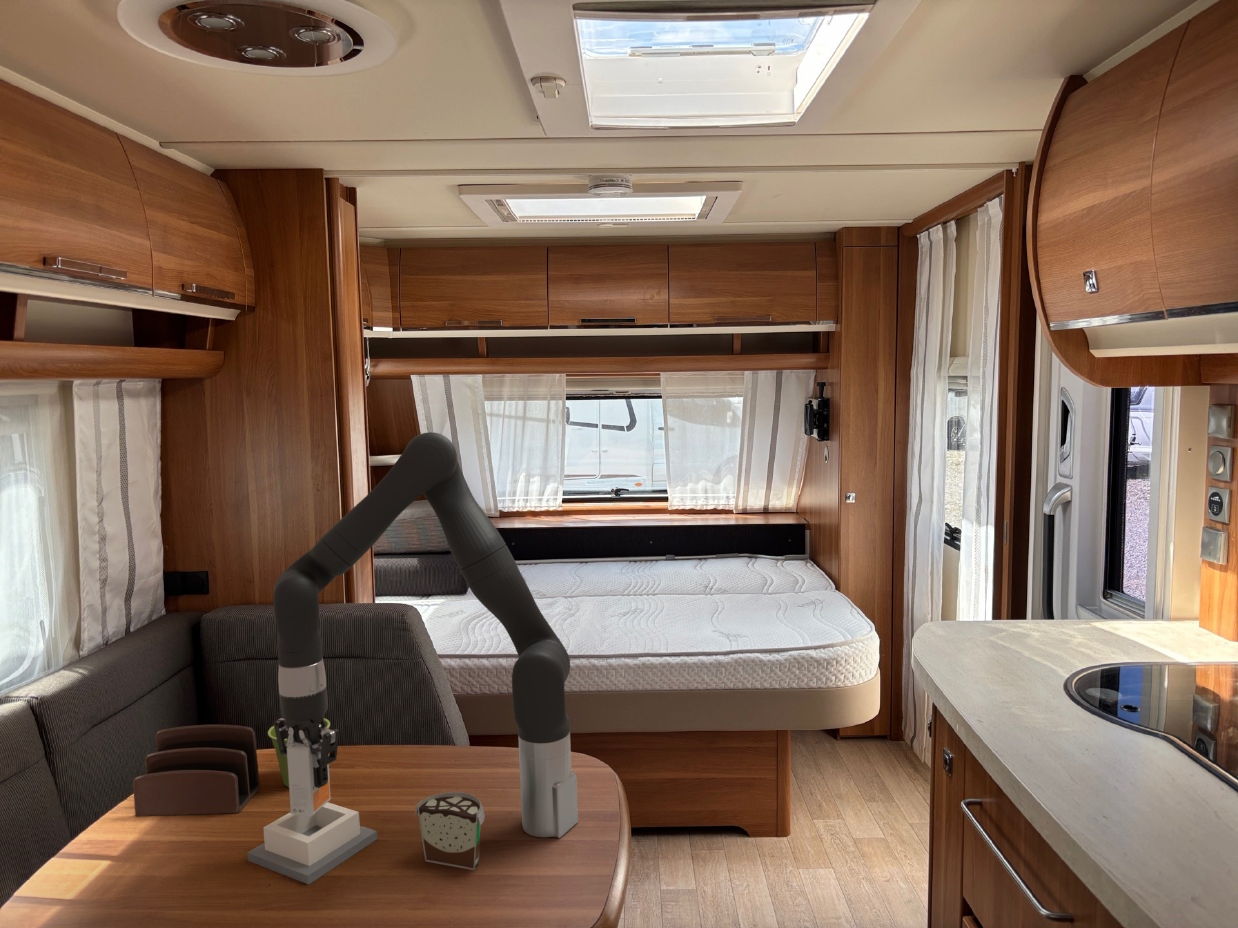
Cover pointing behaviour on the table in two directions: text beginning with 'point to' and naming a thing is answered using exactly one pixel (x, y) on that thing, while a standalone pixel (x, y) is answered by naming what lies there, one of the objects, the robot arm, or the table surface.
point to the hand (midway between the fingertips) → (309, 781)
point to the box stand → (311, 842)
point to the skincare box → (304, 781)
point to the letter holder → (198, 771)
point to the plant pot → (283, 758)
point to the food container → (451, 828)
